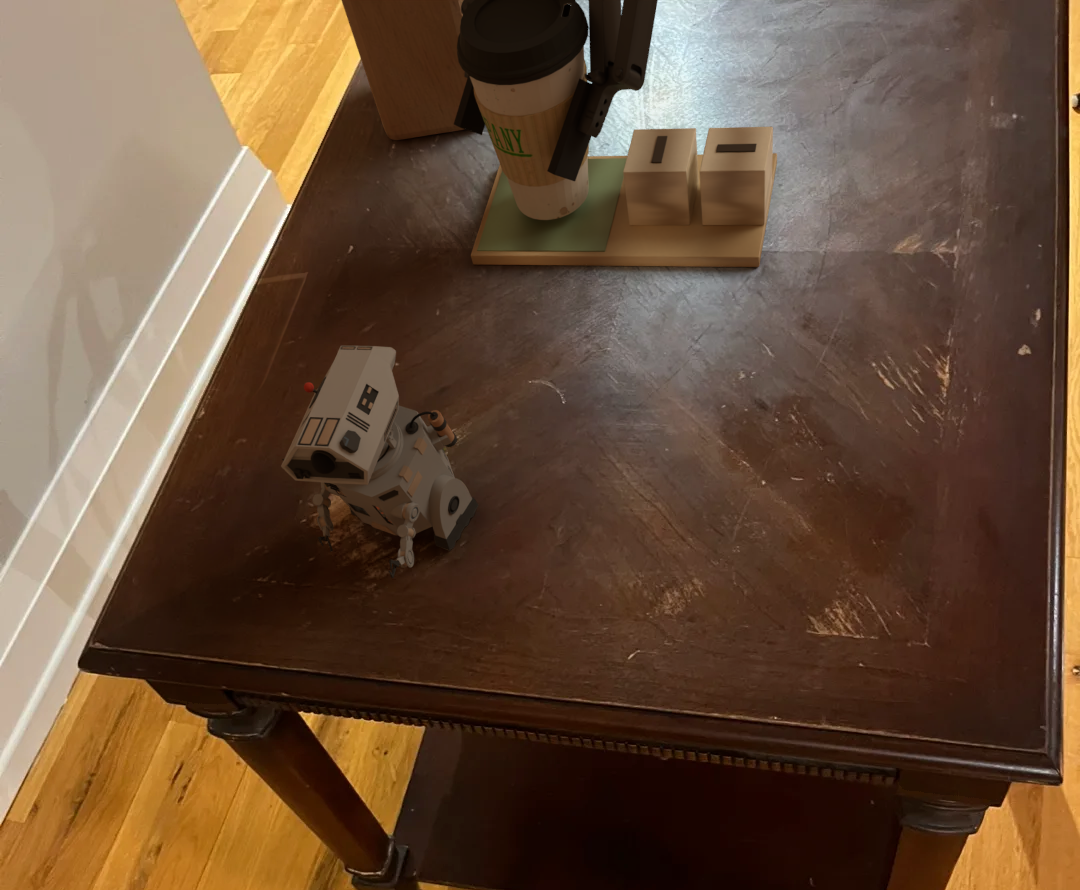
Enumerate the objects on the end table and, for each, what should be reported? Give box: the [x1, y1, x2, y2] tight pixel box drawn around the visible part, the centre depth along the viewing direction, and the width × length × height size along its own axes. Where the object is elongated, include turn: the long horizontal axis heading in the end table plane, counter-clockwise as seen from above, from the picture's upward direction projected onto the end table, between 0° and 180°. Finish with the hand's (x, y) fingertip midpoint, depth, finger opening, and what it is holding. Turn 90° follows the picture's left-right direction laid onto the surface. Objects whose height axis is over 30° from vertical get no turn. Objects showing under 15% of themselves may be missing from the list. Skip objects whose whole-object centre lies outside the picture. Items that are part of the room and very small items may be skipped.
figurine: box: [280, 345, 479, 579], centre depth 74 cm, size 9×12×15 cm
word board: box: [470, 126, 778, 268], centre depth 89 cm, size 24×12×6 cm, turn 78°
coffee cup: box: [457, 0, 590, 220], centre depth 85 cm, size 10×10×15 cm
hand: (513, 152), depth 86 cm, fingers closed on coffee cup, 10 cm apart
